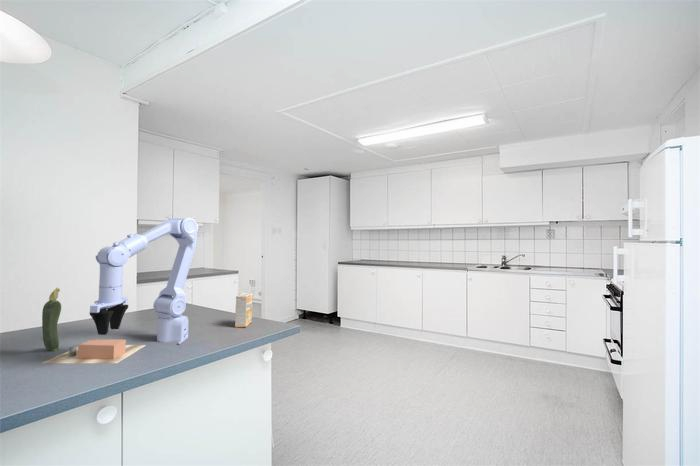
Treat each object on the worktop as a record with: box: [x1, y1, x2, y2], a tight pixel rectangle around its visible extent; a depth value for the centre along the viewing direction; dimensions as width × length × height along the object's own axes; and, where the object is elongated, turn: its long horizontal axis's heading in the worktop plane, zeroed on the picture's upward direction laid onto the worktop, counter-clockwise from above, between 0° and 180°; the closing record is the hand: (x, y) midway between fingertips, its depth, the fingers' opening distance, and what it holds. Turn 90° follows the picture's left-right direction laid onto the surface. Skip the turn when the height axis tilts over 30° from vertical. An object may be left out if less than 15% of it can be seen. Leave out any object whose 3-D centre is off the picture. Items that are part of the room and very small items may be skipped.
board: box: [42, 344, 147, 364], centre depth 102 cm, size 20×16×3 cm
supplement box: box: [234, 292, 254, 328], centre depth 142 cm, size 8×5×13 cm, turn 179°
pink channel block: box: [77, 338, 127, 359], centre depth 100 cm, size 10×6×4 cm, turn 93°
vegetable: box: [41, 287, 62, 352], centre depth 104 cm, size 4×4×20 cm
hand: (108, 331), depth 101 cm, fingers open, 5 cm apart
